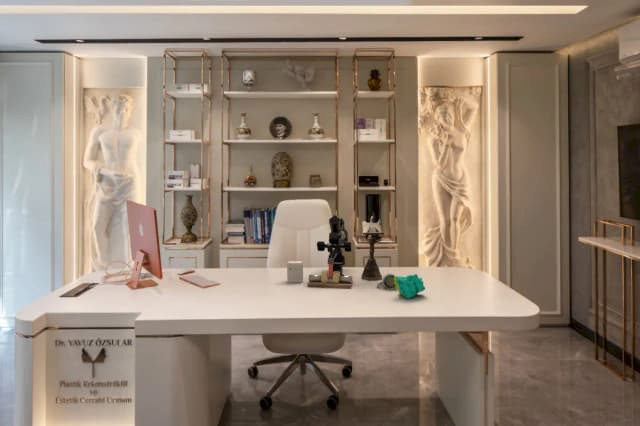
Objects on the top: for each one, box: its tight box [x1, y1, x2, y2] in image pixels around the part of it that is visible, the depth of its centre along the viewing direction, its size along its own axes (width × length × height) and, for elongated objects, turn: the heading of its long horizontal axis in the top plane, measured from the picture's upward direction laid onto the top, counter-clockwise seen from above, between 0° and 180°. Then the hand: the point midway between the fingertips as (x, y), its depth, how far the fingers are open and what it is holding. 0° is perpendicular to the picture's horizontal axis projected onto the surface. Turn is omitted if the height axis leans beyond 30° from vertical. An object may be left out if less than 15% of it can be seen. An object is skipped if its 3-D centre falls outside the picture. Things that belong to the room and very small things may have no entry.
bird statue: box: [361, 215, 385, 281], centre depth 267 cm, size 17×13×35 cm
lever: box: [327, 258, 334, 280], centre depth 252 cm, size 2×3×11 cm
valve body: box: [308, 270, 353, 284], centre depth 252 cm, size 4×22×6 cm, turn 81°
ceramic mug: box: [376, 272, 396, 290], centre depth 247 cm, size 10×8×7 cm
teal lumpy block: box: [394, 274, 426, 299], centre depth 229 cm, size 15×12×13 cm
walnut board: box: [307, 279, 354, 290], centre depth 253 cm, size 12×22×2 cm, turn 81°
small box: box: [286, 260, 304, 283], centre depth 261 cm, size 8×6×10 cm
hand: (332, 259), depth 261 cm, fingers closed
